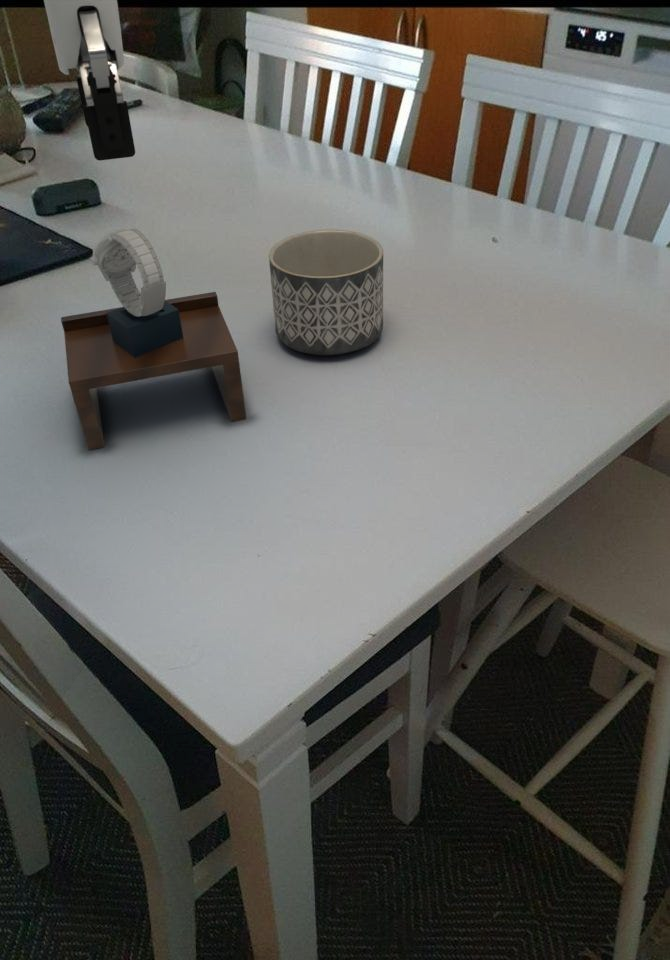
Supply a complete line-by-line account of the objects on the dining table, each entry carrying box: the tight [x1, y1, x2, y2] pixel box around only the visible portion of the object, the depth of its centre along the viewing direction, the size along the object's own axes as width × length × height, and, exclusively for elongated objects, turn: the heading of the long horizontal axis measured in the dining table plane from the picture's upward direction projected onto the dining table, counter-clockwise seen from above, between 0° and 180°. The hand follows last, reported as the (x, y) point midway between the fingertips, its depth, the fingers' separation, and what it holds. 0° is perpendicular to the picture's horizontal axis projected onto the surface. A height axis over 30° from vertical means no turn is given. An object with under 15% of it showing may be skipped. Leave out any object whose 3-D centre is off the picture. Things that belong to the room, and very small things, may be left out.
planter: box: [268, 229, 384, 356], centre depth 93 cm, size 13×13×10 cm
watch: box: [90, 227, 183, 358], centre depth 77 cm, size 6×8×11 cm
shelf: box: [60, 291, 247, 451], centre depth 83 cm, size 16×11×9 cm
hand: (109, 140), depth 68 cm, fingers open, 9 cm apart
